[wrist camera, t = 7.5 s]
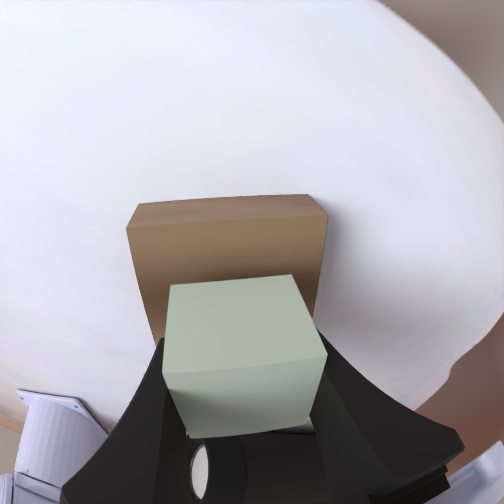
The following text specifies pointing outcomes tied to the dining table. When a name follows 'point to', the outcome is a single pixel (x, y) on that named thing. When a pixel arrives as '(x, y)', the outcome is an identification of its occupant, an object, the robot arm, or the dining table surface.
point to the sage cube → (241, 356)
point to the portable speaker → (257, 469)
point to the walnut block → (224, 245)
